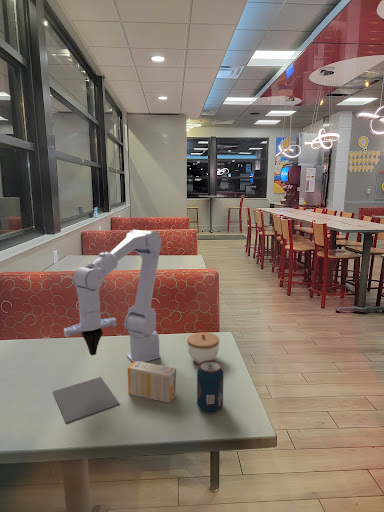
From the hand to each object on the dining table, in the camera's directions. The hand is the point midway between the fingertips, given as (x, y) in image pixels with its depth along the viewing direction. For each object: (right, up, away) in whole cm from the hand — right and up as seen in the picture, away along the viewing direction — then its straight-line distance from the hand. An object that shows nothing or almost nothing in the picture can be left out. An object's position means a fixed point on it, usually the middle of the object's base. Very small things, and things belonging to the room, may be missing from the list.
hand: (92, 353), depth 100 cm
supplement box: (+11, -6, -1) cm, 13 cm away
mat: (-1, -11, -4) cm, 12 cm away
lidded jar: (+33, -7, +17) cm, 38 cm away
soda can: (+34, -12, -8) cm, 37 cm away
